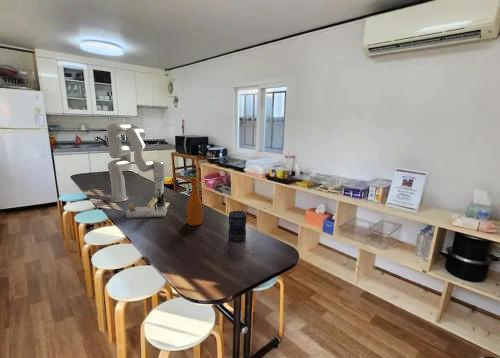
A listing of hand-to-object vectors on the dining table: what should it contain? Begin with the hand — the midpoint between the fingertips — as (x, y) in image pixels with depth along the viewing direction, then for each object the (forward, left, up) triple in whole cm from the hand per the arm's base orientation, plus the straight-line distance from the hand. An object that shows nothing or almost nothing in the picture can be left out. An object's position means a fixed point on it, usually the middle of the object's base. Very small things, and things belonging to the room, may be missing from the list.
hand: (160, 200), depth 185 cm
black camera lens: (+50, -58, -4) cm, 77 cm away
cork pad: (0, 0, -4) cm, 4 cm away
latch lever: (-1, -22, +5) cm, 23 cm away
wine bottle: (+26, -34, -4) cm, 43 cm away
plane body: (-6, -16, -4) cm, 18 cm away
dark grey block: (0, 0, -3) cm, 3 cm away
